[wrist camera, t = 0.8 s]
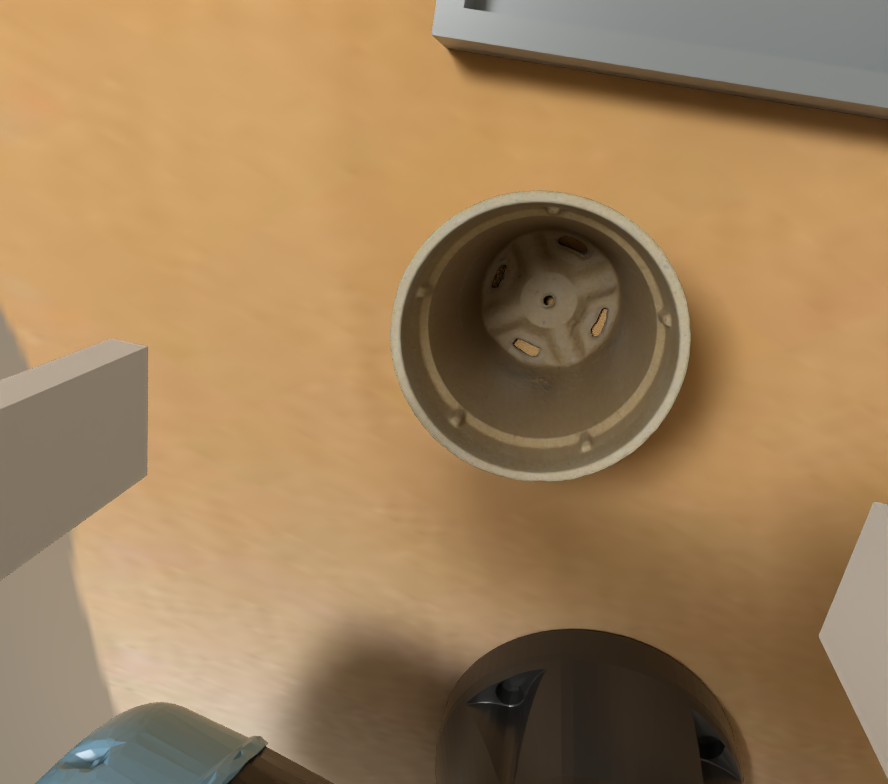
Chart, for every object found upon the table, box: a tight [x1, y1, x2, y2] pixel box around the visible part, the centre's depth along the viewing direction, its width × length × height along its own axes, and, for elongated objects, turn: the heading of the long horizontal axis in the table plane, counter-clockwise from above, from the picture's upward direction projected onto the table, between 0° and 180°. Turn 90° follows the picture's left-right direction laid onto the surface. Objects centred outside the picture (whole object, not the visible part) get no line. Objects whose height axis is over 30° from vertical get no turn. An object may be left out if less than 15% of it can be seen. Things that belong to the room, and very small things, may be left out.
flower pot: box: [390, 191, 691, 482], centre depth 26 cm, size 9×9×9 cm
